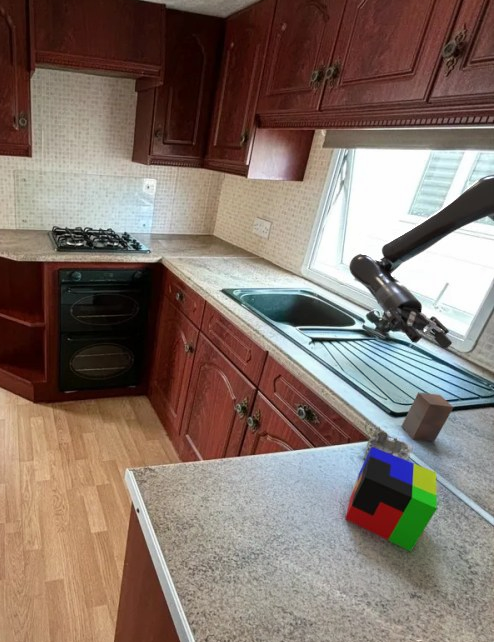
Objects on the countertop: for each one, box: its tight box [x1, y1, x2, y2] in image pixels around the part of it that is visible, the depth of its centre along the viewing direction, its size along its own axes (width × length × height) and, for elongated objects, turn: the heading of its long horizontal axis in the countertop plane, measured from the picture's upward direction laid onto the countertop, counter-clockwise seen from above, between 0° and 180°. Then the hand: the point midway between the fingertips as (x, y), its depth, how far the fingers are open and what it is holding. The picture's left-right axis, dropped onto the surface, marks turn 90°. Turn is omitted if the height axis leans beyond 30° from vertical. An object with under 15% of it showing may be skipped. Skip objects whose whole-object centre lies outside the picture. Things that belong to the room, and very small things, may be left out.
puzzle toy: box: [344, 447, 438, 552], centre depth 71 cm, size 10×10×10 cm
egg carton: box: [362, 426, 413, 461], centre depth 87 cm, size 11×8×4 cm
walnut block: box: [401, 391, 454, 443], centre depth 95 cm, size 5×5×10 cm
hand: (433, 343), depth 96 cm, fingers open, 8 cm apart
